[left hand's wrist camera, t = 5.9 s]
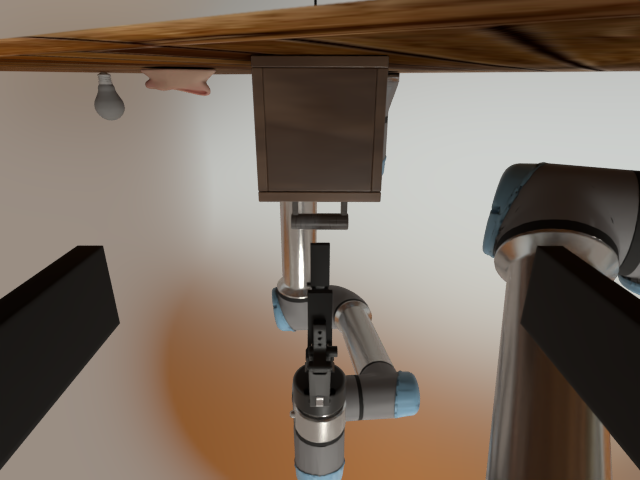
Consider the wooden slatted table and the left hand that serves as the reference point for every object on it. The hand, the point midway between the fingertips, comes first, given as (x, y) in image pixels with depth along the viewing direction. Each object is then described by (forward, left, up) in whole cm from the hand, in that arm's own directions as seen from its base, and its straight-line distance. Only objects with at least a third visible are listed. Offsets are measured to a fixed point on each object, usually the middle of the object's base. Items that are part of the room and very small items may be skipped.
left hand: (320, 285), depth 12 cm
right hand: (-27, +20, +15) cm, 37 cm away
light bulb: (-39, +88, -8) cm, 97 cm away
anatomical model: (-32, +51, -8) cm, 61 cm away
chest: (-23, +17, -8) cm, 30 cm away
